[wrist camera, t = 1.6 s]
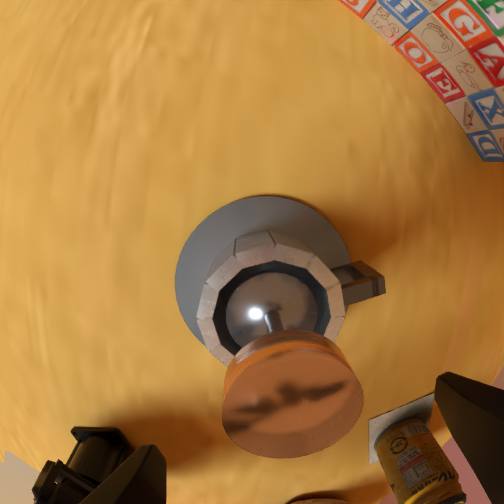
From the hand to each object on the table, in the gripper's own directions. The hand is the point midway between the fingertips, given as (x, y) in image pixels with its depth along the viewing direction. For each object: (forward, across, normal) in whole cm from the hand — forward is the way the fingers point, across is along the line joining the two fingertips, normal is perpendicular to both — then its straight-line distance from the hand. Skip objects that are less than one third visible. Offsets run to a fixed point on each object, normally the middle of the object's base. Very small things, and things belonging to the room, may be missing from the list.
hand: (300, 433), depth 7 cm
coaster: (+13, 0, 0) cm, 13 cm away
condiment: (+13, -10, +20) cm, 26 cm away
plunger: (+9, 0, 0) cm, 9 cm away
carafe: (+13, -1, 0) cm, 13 cm away
